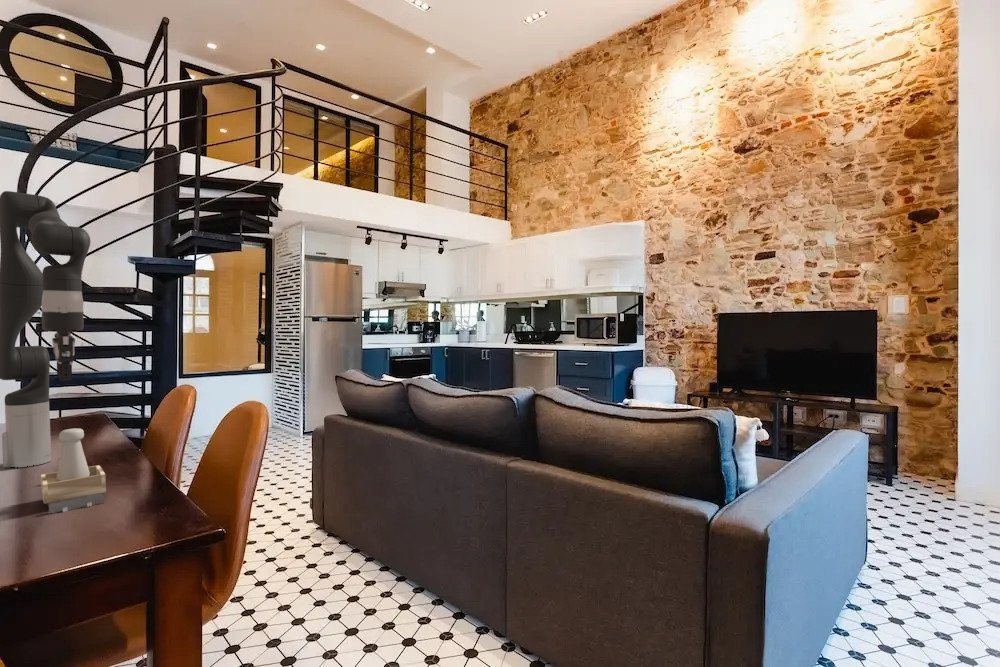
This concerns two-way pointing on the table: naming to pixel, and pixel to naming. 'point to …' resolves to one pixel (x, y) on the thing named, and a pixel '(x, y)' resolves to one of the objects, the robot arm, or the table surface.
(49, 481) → the wooden tray
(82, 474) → the salt shaker
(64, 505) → the rail
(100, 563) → the table surface
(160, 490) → the table surface
